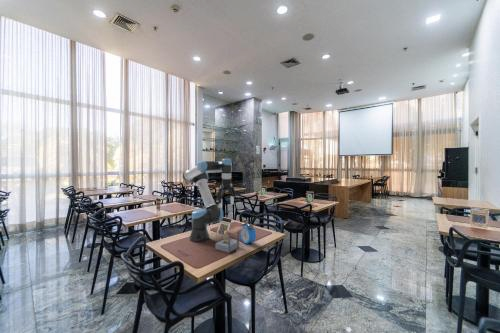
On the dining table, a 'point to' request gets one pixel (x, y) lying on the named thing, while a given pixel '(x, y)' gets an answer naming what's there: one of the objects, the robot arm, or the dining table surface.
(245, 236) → the alarm clock
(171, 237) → the dining table surface
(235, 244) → the socket station
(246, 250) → the dining table surface
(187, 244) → the dining table surface
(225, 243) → the peg
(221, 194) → the robot arm
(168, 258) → the dining table surface
